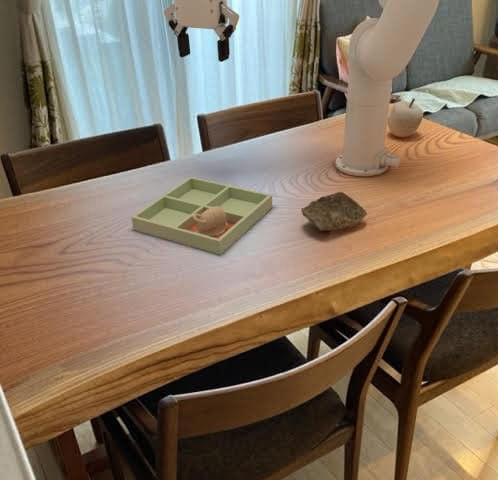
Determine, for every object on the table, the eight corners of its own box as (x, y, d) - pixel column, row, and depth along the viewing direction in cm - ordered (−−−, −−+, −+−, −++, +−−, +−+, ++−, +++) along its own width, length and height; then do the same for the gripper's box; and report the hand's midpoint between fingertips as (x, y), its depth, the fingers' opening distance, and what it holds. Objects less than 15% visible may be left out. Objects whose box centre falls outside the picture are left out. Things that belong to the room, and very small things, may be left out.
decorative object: (380, 132, 148) (385, 94, 141) (409, 128, 149) (415, 91, 143) (394, 144, 141) (400, 105, 135) (425, 140, 142) (432, 101, 136)
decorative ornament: (233, 229, 108) (232, 204, 105) (199, 243, 104) (196, 218, 101) (221, 221, 110) (219, 197, 107) (187, 235, 106) (184, 211, 103)
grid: (272, 207, 116) (272, 194, 114) (220, 254, 102) (219, 241, 100) (191, 188, 124) (190, 176, 122) (133, 229, 110) (131, 216, 109)
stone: (328, 238, 102) (312, 198, 101) (305, 247, 109) (290, 210, 108) (374, 218, 107) (359, 180, 107) (349, 228, 114) (335, 192, 114)
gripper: (245, -42, 101) (248, 57, 112) (170, -43, 108) (180, 50, 119) (224, -37, 96) (230, 66, 107) (147, -39, 103) (160, 58, 114)
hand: (204, 57), depth 113 cm, fingers open, 9 cm apart
